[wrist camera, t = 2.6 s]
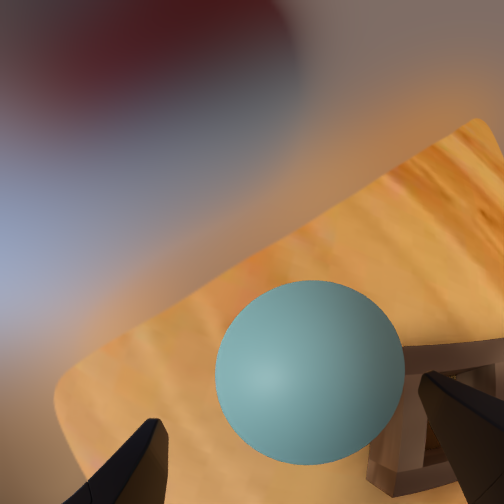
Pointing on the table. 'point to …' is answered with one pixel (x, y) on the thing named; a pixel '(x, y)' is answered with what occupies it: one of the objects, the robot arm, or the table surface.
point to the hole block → (415, 419)
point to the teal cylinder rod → (310, 372)
